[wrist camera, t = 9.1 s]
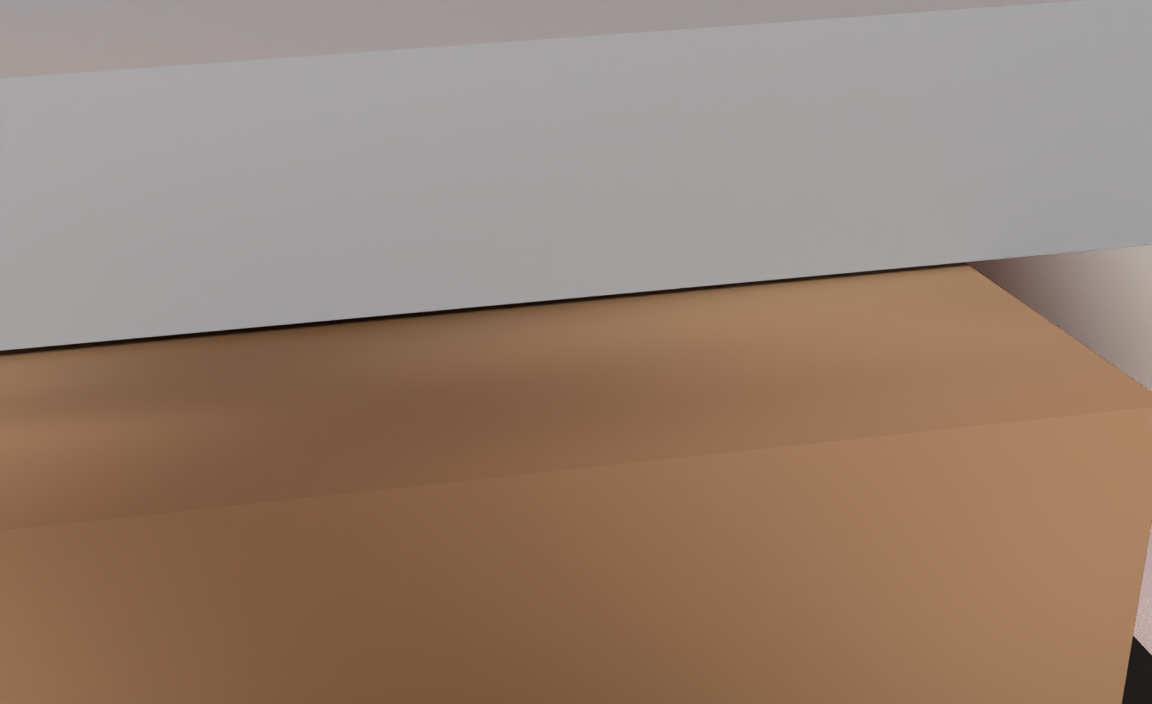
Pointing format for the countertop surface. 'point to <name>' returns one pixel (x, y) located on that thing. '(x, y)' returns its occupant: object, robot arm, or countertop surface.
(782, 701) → the tan wooden block
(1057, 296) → the countertop surface
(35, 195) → the wall board
